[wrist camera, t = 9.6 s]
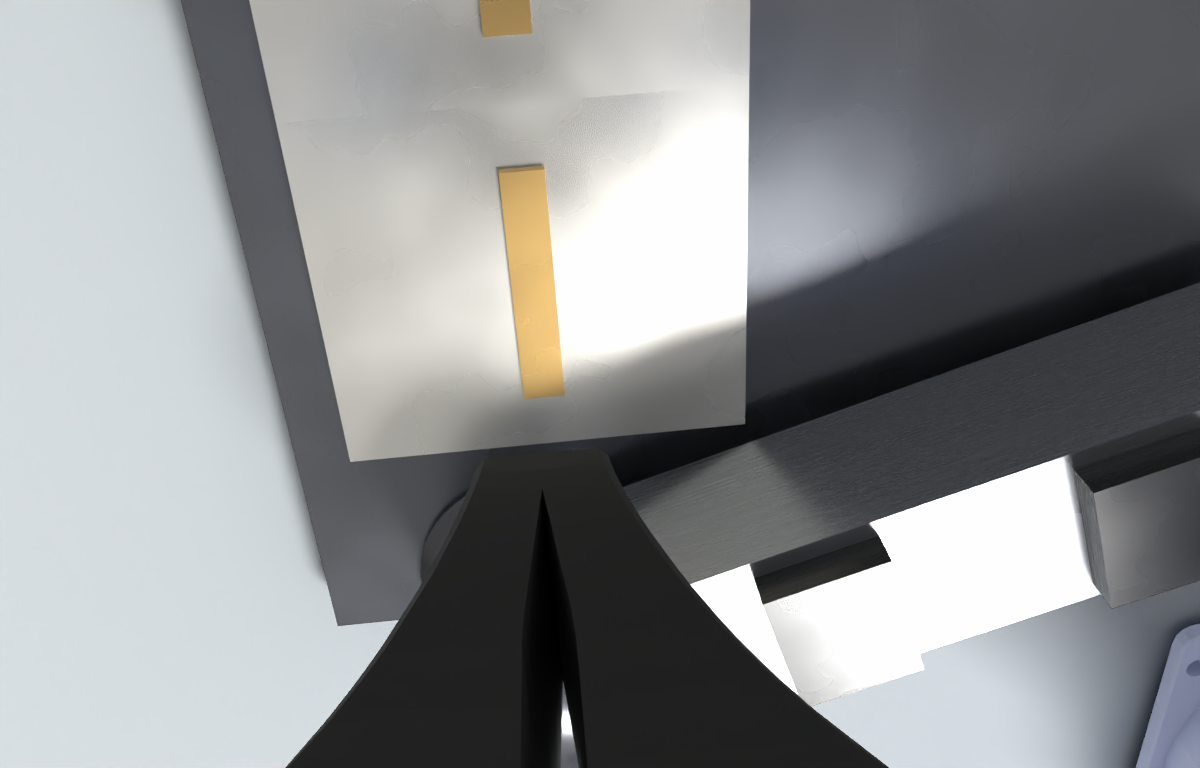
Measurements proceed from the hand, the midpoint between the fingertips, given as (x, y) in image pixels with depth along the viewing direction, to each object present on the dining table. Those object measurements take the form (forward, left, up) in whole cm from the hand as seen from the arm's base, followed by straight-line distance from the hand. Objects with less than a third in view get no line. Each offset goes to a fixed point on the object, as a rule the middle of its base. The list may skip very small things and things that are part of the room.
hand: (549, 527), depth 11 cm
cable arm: (-4, -5, -6) cm, 9 cm away
